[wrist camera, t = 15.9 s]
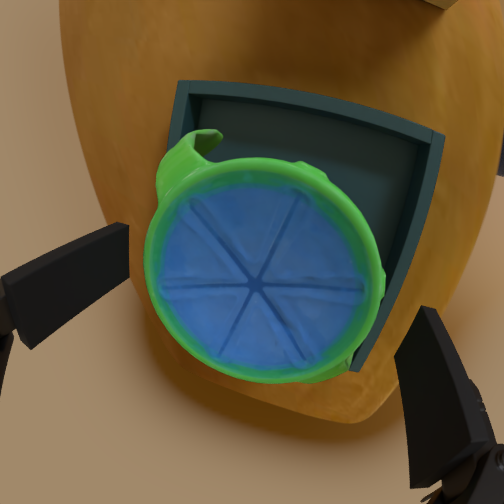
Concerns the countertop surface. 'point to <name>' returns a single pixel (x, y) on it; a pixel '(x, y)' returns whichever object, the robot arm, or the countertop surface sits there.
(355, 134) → the tray
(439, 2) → the cheese
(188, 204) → the snack cup
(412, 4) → the countertop surface
